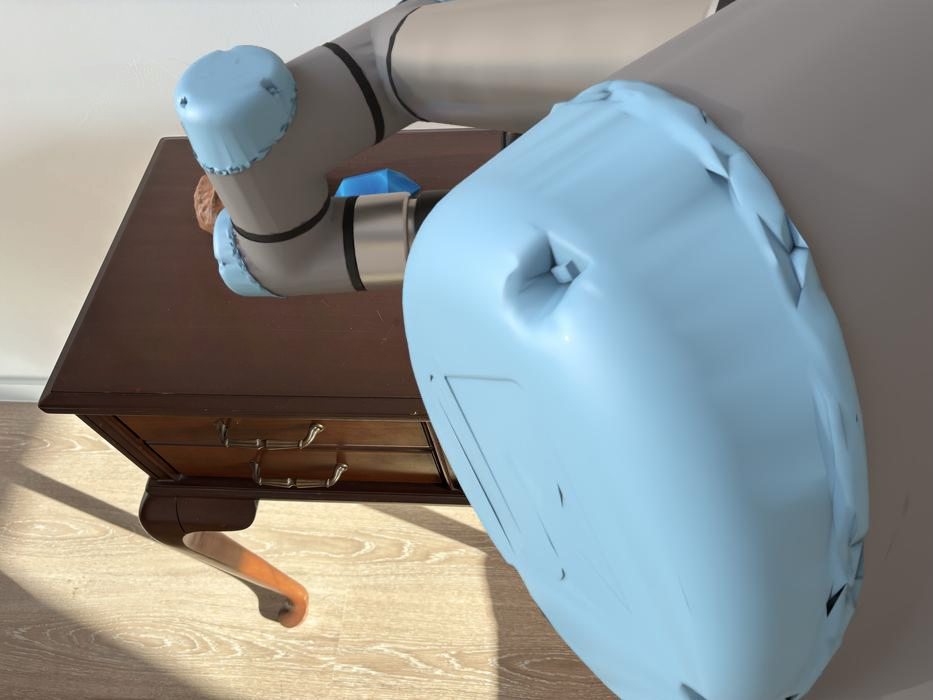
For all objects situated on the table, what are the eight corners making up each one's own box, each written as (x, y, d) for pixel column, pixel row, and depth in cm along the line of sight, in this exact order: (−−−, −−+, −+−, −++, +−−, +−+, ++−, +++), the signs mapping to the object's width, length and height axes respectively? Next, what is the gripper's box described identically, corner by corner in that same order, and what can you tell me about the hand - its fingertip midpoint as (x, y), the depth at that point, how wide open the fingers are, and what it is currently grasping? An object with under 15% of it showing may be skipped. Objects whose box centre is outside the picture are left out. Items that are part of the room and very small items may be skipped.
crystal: (328, 153, 80) (422, 139, 76) (361, 207, 87) (449, 197, 82) (308, 198, 76) (405, 186, 72) (343, 251, 83) (435, 243, 78)
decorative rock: (258, 181, 89) (229, 116, 81) (330, 204, 85) (307, 138, 77) (193, 252, 83) (154, 190, 75) (267, 280, 79) (234, 218, 71)
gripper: (429, 200, 62) (696, 182, 60) (421, 354, 53) (736, 339, 51) (416, 132, 56) (713, 109, 54) (405, 293, 47) (763, 273, 45)
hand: (724, 221), depth 53 cm, fingers closed on switch lever, 4 cm apart
